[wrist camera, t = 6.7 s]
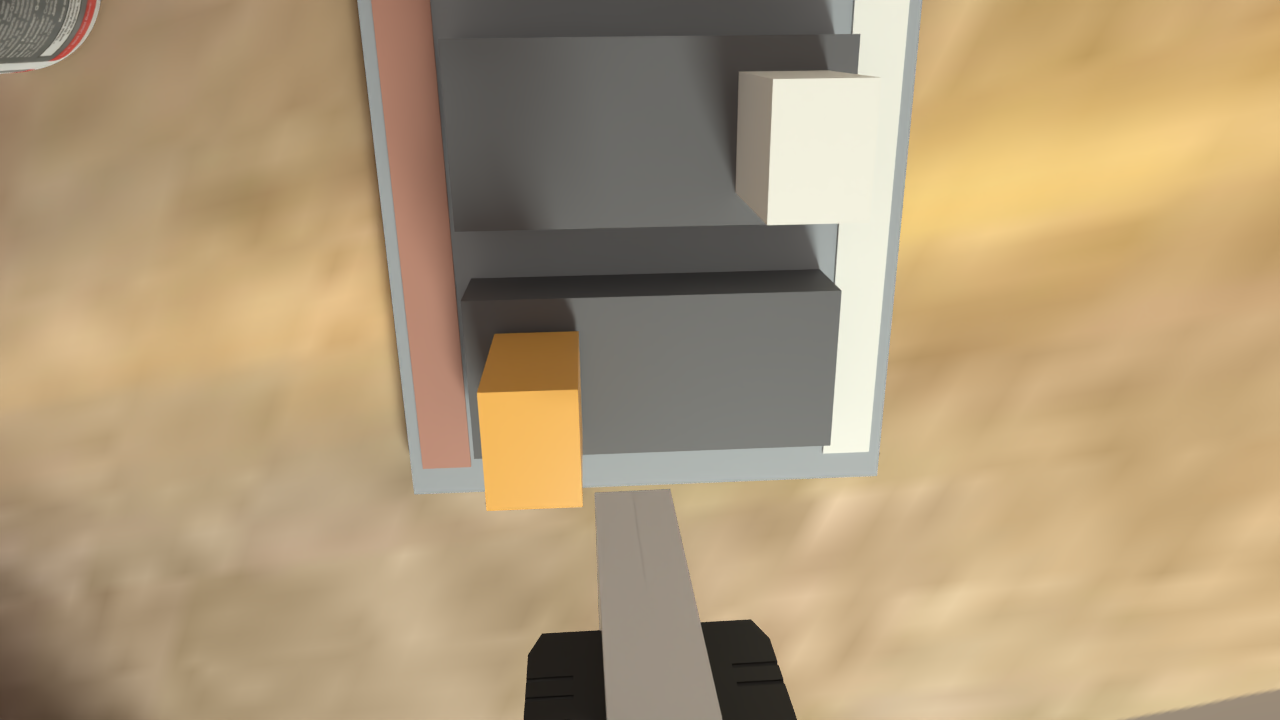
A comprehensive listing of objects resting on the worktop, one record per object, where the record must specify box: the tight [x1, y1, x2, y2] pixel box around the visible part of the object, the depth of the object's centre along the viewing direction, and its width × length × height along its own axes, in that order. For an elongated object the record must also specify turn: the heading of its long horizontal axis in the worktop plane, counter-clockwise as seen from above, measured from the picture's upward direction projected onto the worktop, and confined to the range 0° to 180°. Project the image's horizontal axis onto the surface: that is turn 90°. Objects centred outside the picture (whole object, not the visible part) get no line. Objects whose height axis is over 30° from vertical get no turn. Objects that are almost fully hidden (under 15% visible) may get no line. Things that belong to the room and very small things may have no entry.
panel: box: [357, 0, 922, 494], centre depth 23 cm, size 16×24×8 cm, turn 1°
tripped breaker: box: [477, 331, 583, 511], centre depth 23 cm, size 2×3×4 cm
